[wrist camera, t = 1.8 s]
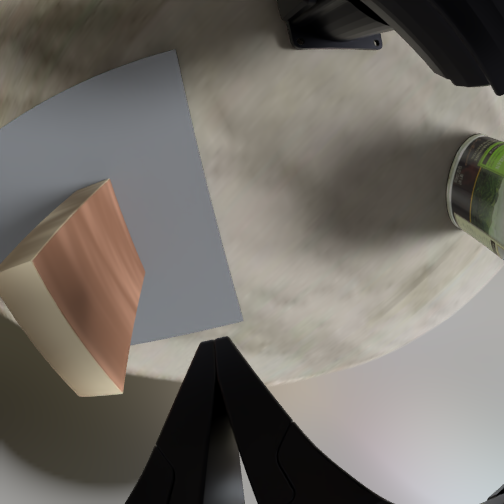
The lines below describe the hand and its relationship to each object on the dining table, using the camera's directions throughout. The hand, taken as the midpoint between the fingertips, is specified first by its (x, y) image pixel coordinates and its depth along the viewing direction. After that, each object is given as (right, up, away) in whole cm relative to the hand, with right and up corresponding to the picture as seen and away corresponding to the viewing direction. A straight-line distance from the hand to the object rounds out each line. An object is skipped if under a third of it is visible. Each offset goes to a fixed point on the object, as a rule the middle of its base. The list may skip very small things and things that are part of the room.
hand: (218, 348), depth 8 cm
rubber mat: (-11, +3, +10) cm, 15 cm away
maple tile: (-8, +4, +10) cm, 13 cm away
